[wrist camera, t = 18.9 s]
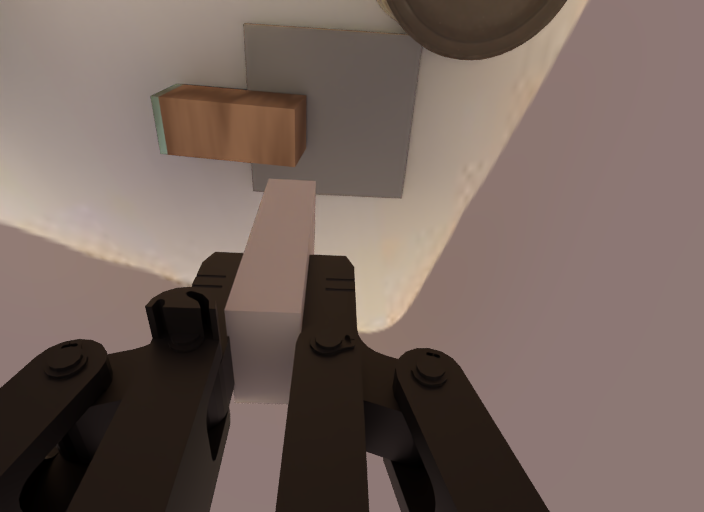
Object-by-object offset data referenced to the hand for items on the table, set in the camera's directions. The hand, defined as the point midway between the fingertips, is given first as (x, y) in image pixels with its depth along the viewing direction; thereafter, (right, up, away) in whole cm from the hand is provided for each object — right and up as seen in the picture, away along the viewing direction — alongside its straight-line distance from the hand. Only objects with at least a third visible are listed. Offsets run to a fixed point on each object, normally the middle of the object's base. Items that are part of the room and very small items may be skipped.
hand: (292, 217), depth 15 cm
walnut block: (-2, +9, +21) cm, 23 cm away
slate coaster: (0, +11, +24) cm, 27 cm away
